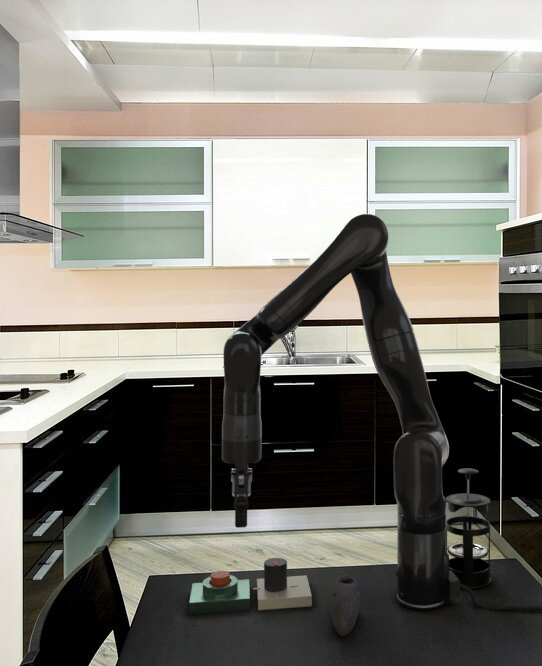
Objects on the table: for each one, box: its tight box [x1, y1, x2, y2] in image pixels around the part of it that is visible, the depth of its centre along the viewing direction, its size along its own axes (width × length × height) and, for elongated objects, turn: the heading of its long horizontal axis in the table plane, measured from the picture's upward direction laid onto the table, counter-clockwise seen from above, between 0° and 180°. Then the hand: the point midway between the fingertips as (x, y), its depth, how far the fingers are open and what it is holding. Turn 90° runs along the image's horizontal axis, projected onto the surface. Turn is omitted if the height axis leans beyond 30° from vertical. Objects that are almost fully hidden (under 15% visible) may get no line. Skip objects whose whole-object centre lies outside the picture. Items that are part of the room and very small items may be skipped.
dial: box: [263, 557, 288, 592], centre depth 131 cm, size 4×4×5 cm
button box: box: [188, 574, 251, 615], centre depth 129 cm, size 11×9×4 cm
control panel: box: [252, 574, 313, 611], centre depth 131 cm, size 11×10×2 cm
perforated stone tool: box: [330, 570, 361, 637], centre depth 120 cm, size 15×5×7 cm, turn 175°
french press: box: [445, 467, 492, 591], centre depth 139 cm, size 12×9×23 cm
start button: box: [210, 570, 231, 586], centre depth 129 cm, size 4×4×2 cm
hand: (241, 519), depth 130 cm, fingers open, 8 cm apart
